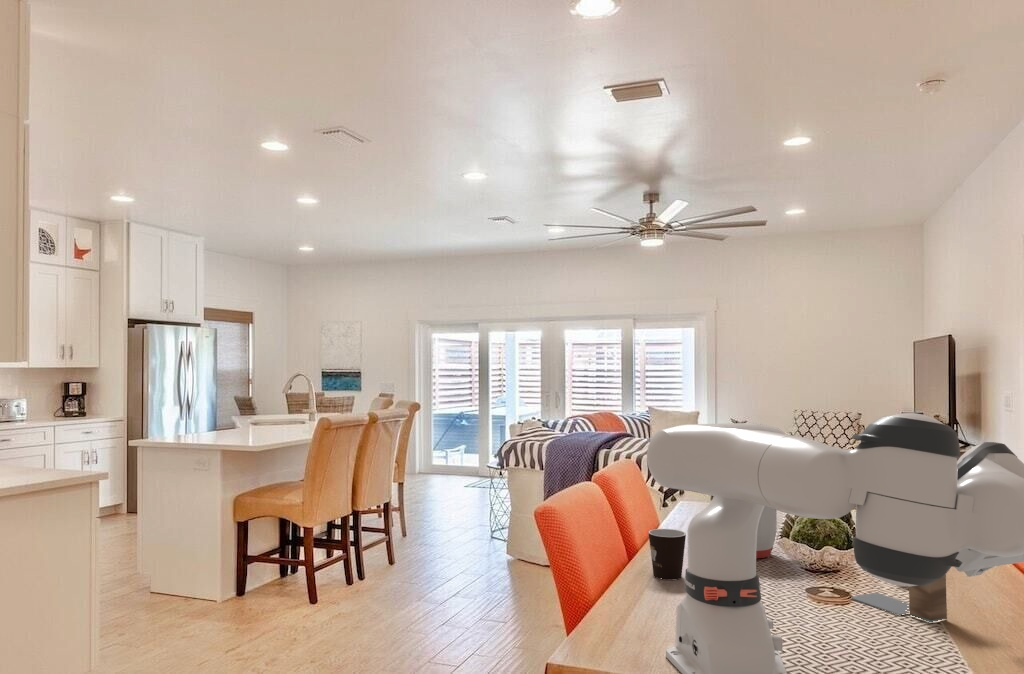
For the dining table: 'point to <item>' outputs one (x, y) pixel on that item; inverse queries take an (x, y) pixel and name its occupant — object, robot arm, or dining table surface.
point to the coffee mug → (667, 552)
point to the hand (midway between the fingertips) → (970, 572)
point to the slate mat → (883, 602)
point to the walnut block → (929, 601)
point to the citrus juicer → (766, 532)
